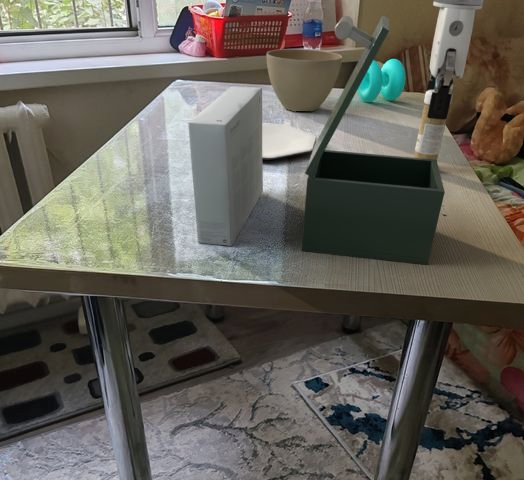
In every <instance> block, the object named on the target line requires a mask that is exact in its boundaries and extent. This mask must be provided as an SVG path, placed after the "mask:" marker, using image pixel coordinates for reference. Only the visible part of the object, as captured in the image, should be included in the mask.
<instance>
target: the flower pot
mask: <svg viewBox="0 0 524 480" xmlns="http://www.w3.org/2000/svg"><path fill="white" fill-rule="evenodd" d="M342 62H343V56H342V54H339V53H336V52H331V51H324V50H317V49H303V48H302V49H301V48H284V49H273V50H269V51H267V52H266V67H267V72H268V77H269V81H270V85H271V87H272V89H273V92H274V94H275V96H276V98H277V99H278V101H279V102H280V105H281V106H282V107H283V108H284V109H285V110H287V109H288V110H287V111H290V110H291V111H290V112H296V111H311V112H314V111H313V110H315V111H317V110H318V109H319V108H320V107H321V106H322V105H323V103H324V102H325V101H326V99H327V98H328V97H329V95H330V94H331V92H332V90H333V88H334V87H335V85H336V82H337V79H338V77H339V74H340V70H341V67H342Z"/></svg>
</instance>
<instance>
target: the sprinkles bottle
mask: <svg viewBox="0 0 524 480" xmlns="http://www.w3.org/2000/svg"><path fill="white" fill-rule="evenodd" d="M432 92H434V90H428V91H427V92H426V91H425V95H424V99H423V110H422V114H421V121H420V125H419V128H418V134H417V138H416V144H415V148H414V155H413V158H423V159H435V160H437V161H438V157H439V154H440V152H441V147H442V142H443V138H444V133H445V128H446V124H447V123H446V122H447V118H446V119H445V120H443V119H431V118H428V116H427V114H428V110H429V105H430V100H431V95H432ZM453 94H454V93H452V98H451V102H450V106H451V105H452V101H453V97H454V96H453ZM424 103H425V104H424Z"/></svg>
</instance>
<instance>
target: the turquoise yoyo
mask: <svg viewBox="0 0 524 480" xmlns="http://www.w3.org/2000/svg"><path fill="white" fill-rule="evenodd" d="M405 85H406V69H405V67H404V65H403V63H402V62H401V61H400V60H399V59H397V58H391V59H389V60H387V61H386V62H385V63H384V64H383V65H382V67H381V66H380V64H379V63H378V62H377V61H376V60H375V59H374V60H373V62H372V64H371V65H370V67H369V69H368V71H367V73H366V75H365V77H364V78H363V80H362V82H361V84H360V86H359V88H358V90H357V91H356V93H357V95H358V97H359V98H360V100H361V101H363V102H364V103H371V102H373V101H375V100H376V99H377V98H378V97H379V95H381V96H382V98H383V99H384V100H385V101H390V102H393V101H395V100H397V99H398V98H399V97H400V96H401V95H402V93H403V91H404V88H405Z"/></svg>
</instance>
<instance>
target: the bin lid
mask: <svg viewBox="0 0 524 480" xmlns="http://www.w3.org/2000/svg"><path fill="white" fill-rule="evenodd" d="M389 23H390V21H389V18H388V17H386V16H385V15H381V18H380V19H379V21H378V23H377V25H376V27H375V29H374V31H373V33H372V35H370V34H369V33H367V32H365V31H364V30H362V29H361V28H359V27H357V26H356V25H354V24H355V23H354V19H353V18H352V17H350V16H349V15H344V16H342V17H341V18H340V19H339V20H338V22H337V24H336V25H335V27H334V34H335V37H336V38H337V39H338V40H341V41H345V40H347V39H350V40H352V41H353V42H355V43H356V44H358V45H360V46H362V47H363V48H364V49H363V52H362V54H361V56H360V58H359V60H358V61H357V64H356V65H355V67H354V68H353V71H352V73H351V75H350V77H349V79H348V80H347V82H346V85H345V86H344V88H343V89H342V92H341V94H340V96H339V98H338V100H337V102H336V103H335V105H334V107H333V109H332V111H331V113H330V115H329V117H328V119H327V120H326V123H325V124H324V126H323V128H322V130H321V132H320V134H319V136H318V138H317V139H316V141H315V144H314V148H313V151H311V154H310V157H309V160H308V163H307V166H306V169H305V171H304V174H305V175H307V177H308V176H311V175H312V173H313V171H314V169H315V167H316V166H317V164H318V162H319V160H320V158H321V156H322V154H323V153H324V151H325V150H327V147H328V145H329V143H330V142H331V140H332V138H333V136H334V134H335V133H336V130H337V128H338V127H339V125H340V123H341V121H342V119H343V117H344V116H345V113H346V112H347V110H348V109H349V106H350V104H351V103H352V101H353V99H354V98H355V96H356V93H357V90H358V88H359V86H360V84H361V82H362V80H363V78H364V77H365V75H366V73H367V71H368V69H369V67H370V65H371V64H372V62H373V60H374V61H375V58H376V56H377V54H378V52H379V51H380V49H381V47H382V45H383V43H384V41H385V39H386V38H387V36H388V34H389V32H390V24H389Z"/></svg>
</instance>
